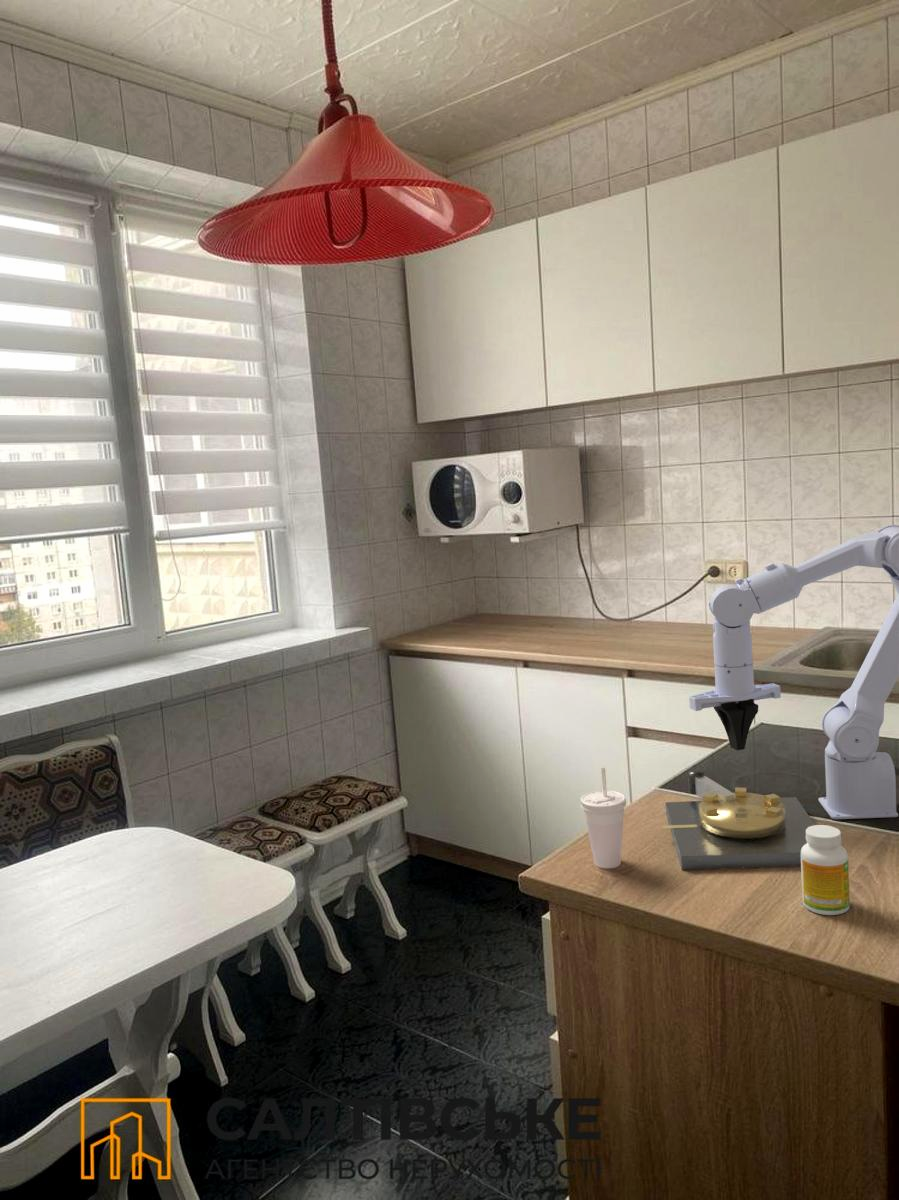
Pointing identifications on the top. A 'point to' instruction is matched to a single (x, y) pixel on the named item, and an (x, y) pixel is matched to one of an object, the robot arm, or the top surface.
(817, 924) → the top surface
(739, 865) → the plate
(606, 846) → the smoothie
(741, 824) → the brass crank disc
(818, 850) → the supplement bottle
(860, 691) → the robot arm
